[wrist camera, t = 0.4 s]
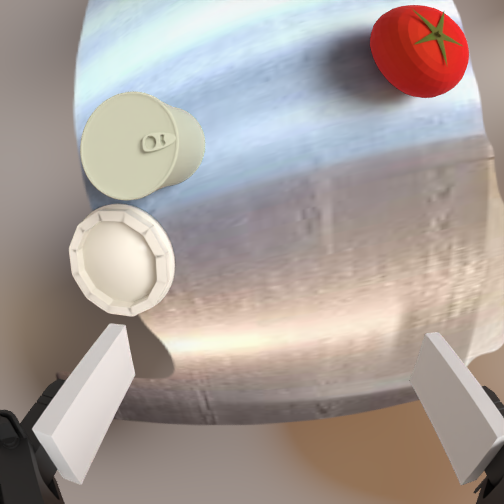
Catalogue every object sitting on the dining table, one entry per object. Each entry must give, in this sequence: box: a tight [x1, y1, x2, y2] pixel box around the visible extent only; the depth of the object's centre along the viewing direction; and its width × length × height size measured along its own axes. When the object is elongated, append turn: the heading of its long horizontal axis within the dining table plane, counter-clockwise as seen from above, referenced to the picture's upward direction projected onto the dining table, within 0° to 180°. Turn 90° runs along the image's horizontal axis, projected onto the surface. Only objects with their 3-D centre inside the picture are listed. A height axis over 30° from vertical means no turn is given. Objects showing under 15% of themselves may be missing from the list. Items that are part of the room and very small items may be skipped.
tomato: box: [370, 5, 469, 98], centre depth 25 cm, size 10×11×11 cm
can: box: [80, 92, 205, 200], centre depth 29 cm, size 9×9×12 cm
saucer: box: [69, 203, 175, 316], centre depth 38 cm, size 14×14×2 cm
